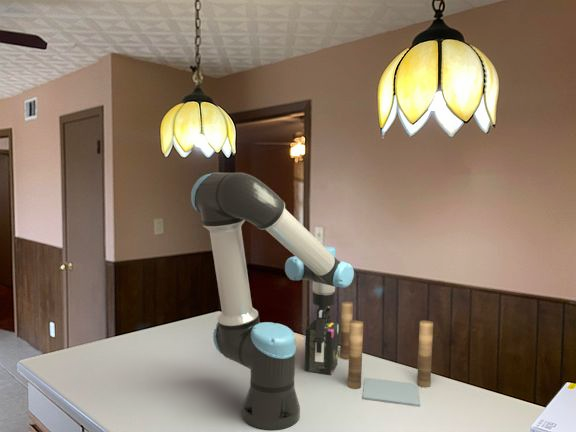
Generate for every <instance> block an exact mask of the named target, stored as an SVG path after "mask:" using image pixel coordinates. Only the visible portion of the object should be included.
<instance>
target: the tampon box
mask: <svg viewBox="0 0 576 432" xmlns="http://www.w3.org/2000/svg"><path fill="white" fill-rule="evenodd" d="M339 327H340V323H339V322H331V321H330V322H327V323H326V324H325V330H324V339H323V340H324V361H323V362H316V361H315V342H313V340H314V339H315V330H316V320H315V319H314V320H313V321H312V322H310V324H309V325H307V327H305V337H304V338H305V340H304V341H305V346H304V348H305V349H304V351H305V352H304V371H305V372H311V373H315V374H316V373H317V374H320V375H321V374H322V375H328V376H332V374H333V372H334V371H335V369H336V368H337V366H338V356H339V355H338V352H339V351H338V350H339V333H340V332H339V329H340V328H339ZM318 339H321V338H318Z"/></svg>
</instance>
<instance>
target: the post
mask: <svg viewBox="0 0 576 432" xmlns="http://www.w3.org/2000/svg"><path fill="white" fill-rule="evenodd" d="M433 331H434V322H433V321H430V320H425V319H424V320H420V321H419V332H418V333H419V334H418V350H417V351H418V352H417V354H418V355H417V373H416V376H417V378H416V379H417V380H416V384H417V386H418V387H419V386H420V387H419V388H422V387H429V388H430V387H431V380H432V379H431V376H432V359H433V358H432V357H433V356H432V354H433V335H434V332H433Z"/></svg>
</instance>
